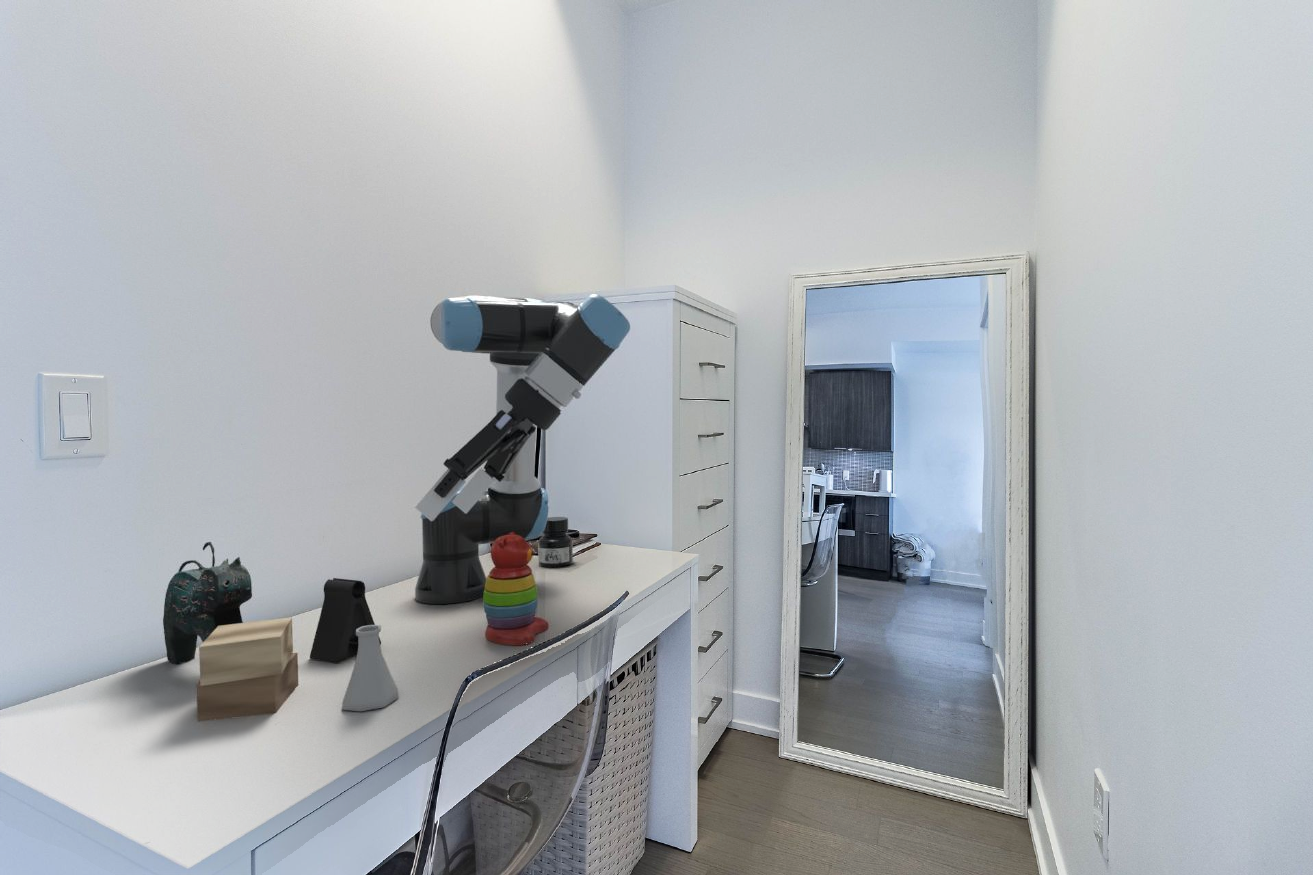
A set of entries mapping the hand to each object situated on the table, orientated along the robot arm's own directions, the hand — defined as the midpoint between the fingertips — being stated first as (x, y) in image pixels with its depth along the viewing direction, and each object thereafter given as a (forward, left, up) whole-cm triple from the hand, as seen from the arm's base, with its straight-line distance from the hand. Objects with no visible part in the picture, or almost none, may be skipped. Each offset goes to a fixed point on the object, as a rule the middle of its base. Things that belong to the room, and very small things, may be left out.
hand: (442, 510), depth 87 cm
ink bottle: (-75, +20, -26) cm, 82 cm away
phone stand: (-21, -18, -26) cm, 38 cm away
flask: (0, -10, -26) cm, 28 cm away
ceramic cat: (-19, -38, -26) cm, 50 cm away
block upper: (-4, -26, -21) cm, 34 cm away
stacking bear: (-22, +9, -26) cm, 35 cm away
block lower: (-4, -26, -26) cm, 37 cm away
